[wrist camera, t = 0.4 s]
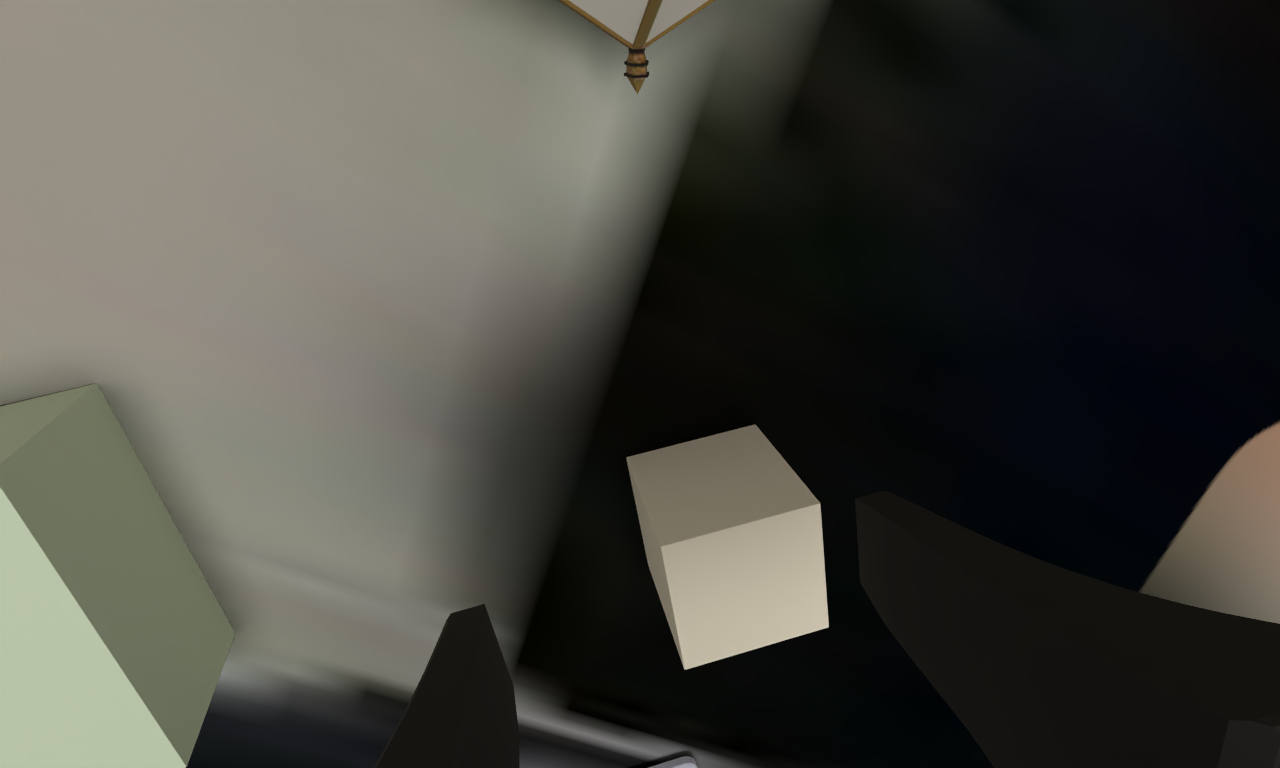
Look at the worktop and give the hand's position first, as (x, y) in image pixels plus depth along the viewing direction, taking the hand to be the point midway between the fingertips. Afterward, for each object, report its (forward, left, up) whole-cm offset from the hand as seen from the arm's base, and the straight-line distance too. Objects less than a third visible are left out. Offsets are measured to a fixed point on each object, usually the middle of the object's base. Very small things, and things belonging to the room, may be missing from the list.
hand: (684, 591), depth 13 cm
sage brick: (-1, +15, -9) cm, 18 cm away
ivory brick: (-5, -3, -10) cm, 11 cm away
